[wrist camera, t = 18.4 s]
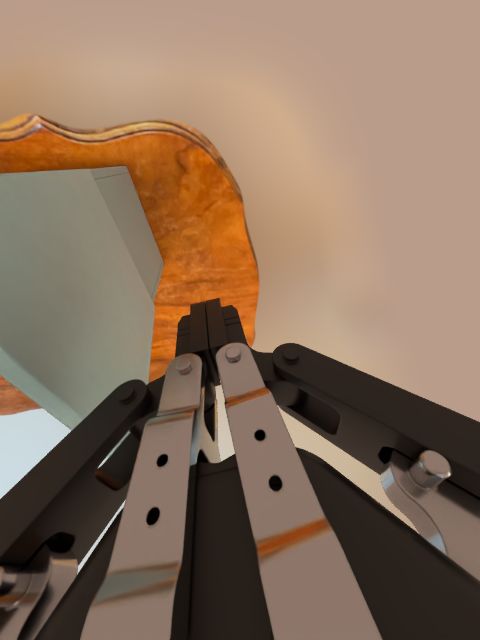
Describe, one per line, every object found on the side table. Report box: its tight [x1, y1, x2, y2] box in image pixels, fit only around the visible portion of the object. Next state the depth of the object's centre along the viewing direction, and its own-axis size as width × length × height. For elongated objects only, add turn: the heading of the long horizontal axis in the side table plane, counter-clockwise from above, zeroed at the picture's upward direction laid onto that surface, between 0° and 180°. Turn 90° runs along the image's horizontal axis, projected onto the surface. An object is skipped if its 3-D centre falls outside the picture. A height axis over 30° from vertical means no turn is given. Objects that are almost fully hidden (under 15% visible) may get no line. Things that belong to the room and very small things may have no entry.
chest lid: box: [0, 168, 155, 458], centre depth 16 cm, size 18×15×1 cm
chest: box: [89, 165, 164, 304], centre depth 29 cm, size 18×15×14 cm
